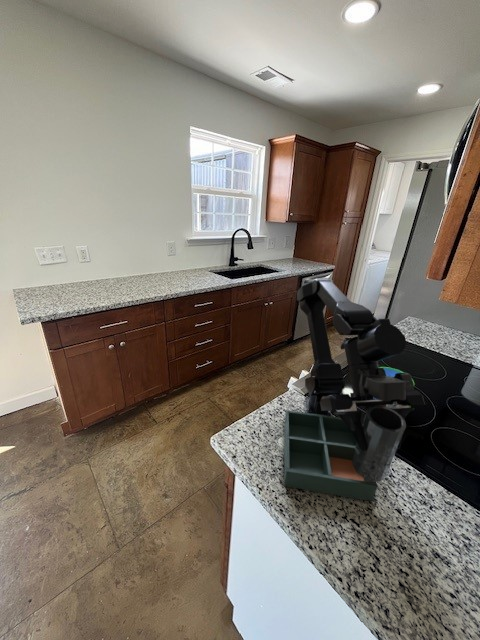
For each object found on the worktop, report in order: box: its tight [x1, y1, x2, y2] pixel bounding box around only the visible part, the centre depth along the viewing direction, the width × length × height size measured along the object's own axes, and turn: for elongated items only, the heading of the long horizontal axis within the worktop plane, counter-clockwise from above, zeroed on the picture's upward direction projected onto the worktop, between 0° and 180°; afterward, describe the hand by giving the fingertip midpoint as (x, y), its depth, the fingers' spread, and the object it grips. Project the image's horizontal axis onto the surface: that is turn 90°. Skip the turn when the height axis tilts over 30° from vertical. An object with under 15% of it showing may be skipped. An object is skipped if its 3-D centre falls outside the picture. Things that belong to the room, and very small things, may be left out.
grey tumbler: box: [352, 405, 407, 483], centre depth 51 cm, size 6×6×13 cm
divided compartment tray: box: [283, 409, 378, 502], centre depth 62 cm, size 18×18×5 cm
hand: (380, 449), depth 49 cm, fingers closed on grey tumbler, 6 cm apart
